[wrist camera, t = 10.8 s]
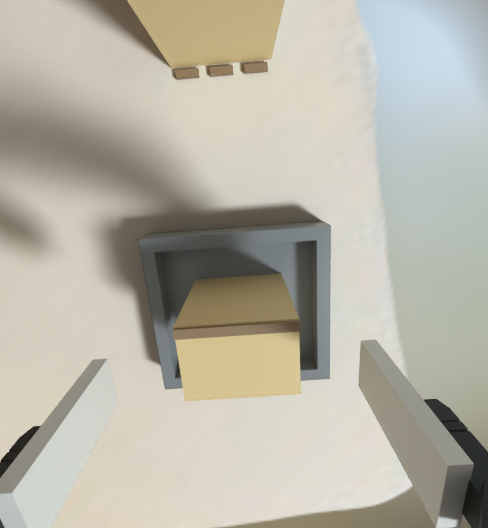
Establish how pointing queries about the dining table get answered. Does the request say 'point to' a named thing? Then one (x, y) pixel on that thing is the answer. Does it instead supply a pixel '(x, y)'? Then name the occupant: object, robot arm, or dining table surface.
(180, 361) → the plain tan block
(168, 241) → the tray
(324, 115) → the dining table surface
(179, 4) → the tan teal-banded block
